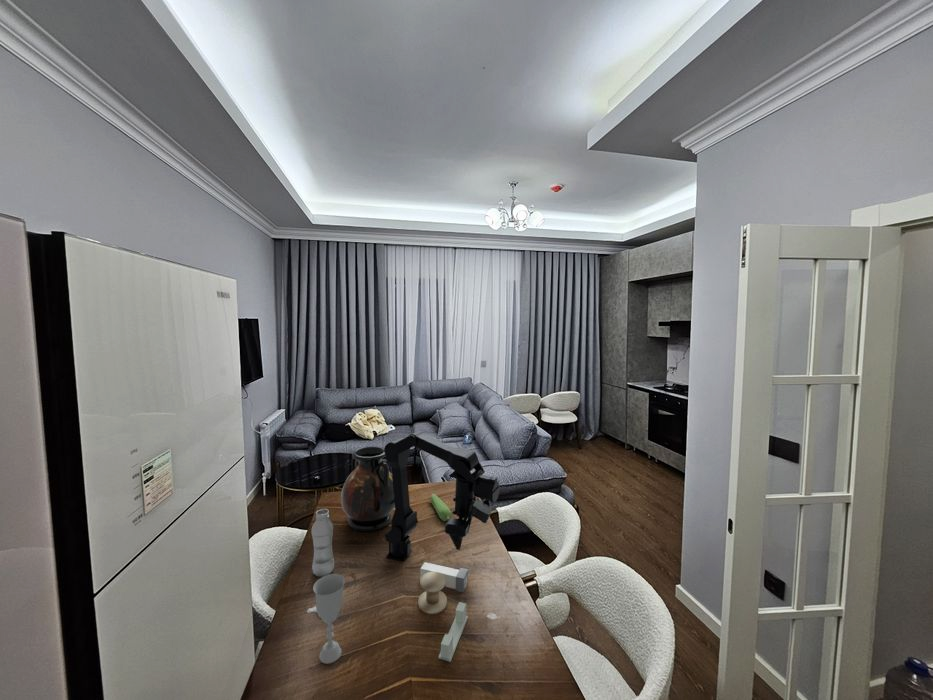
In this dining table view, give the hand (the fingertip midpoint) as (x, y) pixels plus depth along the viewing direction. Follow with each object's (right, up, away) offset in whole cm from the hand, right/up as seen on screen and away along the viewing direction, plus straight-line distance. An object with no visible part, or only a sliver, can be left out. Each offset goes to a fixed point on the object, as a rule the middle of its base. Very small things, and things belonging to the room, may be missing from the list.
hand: (462, 540), depth 121 cm
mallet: (-6, -12, -2) cm, 13 cm away
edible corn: (-10, -8, +40) cm, 42 cm away
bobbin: (-8, -13, -10) cm, 18 cm away
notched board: (-2, -14, -21) cm, 26 cm away
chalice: (-31, -14, -27) cm, 44 cm away
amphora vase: (-36, -8, +32) cm, 49 cm away
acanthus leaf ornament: (-38, -13, -12) cm, 42 cm away
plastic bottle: (-43, -11, +2) cm, 45 cm away
